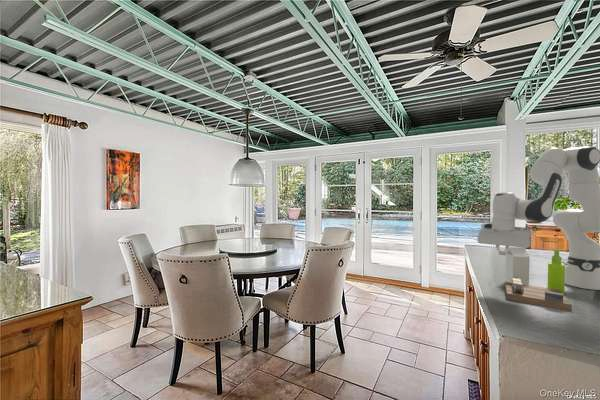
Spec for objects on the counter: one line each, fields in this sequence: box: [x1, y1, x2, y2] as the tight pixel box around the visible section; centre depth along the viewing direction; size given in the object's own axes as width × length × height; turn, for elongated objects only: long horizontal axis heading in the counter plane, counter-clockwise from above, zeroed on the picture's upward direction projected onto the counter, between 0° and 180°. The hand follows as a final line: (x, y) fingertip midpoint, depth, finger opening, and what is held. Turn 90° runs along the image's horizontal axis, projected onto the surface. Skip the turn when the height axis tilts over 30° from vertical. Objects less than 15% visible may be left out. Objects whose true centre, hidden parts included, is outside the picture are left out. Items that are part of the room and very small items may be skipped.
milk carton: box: [504, 246, 530, 285], centre depth 140 cm, size 7×7×19 cm
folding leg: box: [512, 277, 524, 293], centre depth 125 cm, size 17×4×3 cm, turn 145°
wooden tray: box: [504, 282, 573, 312], centre depth 121 cm, size 22×20×6 cm
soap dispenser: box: [547, 248, 569, 295], centre depth 130 cm, size 6×7×20 cm
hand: (502, 254), depth 130 cm, fingers closed
